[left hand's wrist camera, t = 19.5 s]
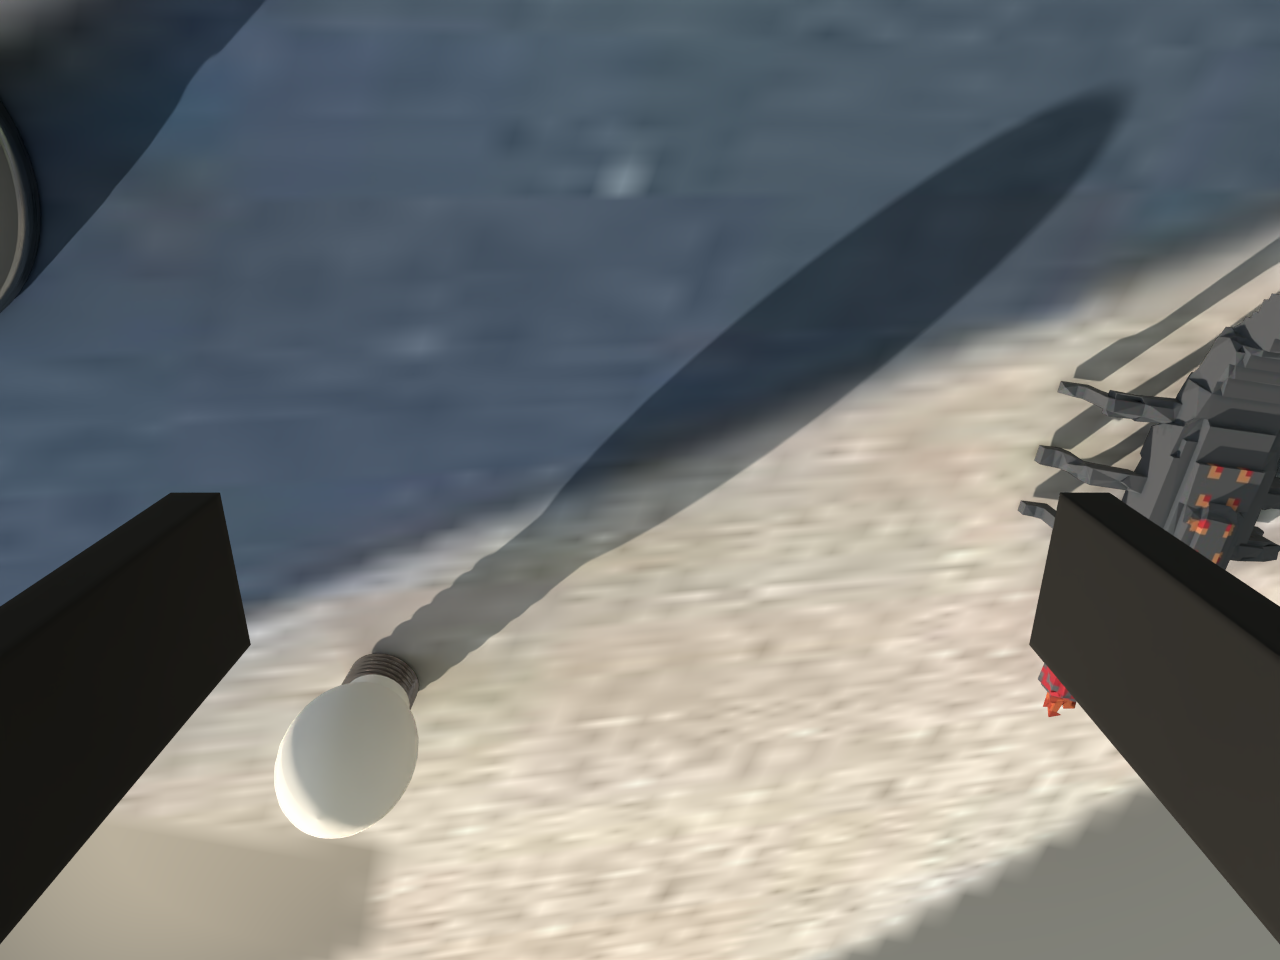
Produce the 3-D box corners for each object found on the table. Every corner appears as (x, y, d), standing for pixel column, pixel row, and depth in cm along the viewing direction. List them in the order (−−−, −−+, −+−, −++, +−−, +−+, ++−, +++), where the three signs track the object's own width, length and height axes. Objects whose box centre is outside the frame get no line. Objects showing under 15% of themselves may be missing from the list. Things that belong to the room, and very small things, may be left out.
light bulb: (309, 688, 47) (218, 830, 37) (367, 609, 45) (287, 736, 35) (406, 744, 49) (344, 895, 38) (466, 670, 47) (417, 808, 37)
